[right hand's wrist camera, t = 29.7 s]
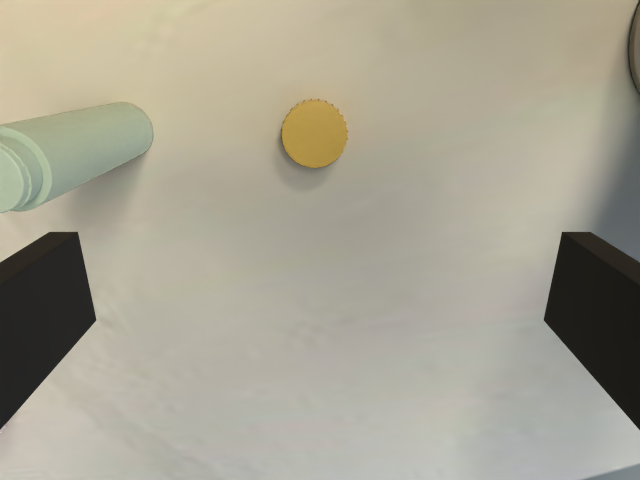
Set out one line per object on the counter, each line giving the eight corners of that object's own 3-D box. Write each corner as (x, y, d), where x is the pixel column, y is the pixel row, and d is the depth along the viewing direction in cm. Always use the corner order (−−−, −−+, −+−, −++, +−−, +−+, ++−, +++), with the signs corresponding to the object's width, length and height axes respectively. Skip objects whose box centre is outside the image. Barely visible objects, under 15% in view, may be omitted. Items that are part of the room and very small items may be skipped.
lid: (269, 126, 38) (267, 129, 36) (320, 84, 37) (320, 85, 35) (309, 176, 40) (308, 181, 38) (359, 138, 39) (361, 141, 37)
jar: (164, 134, 39) (51, 185, 22) (127, 167, 40) (-6, 239, 23) (124, 90, 37) (-27, 110, 21) (87, 125, 38) (-84, 170, 22)
